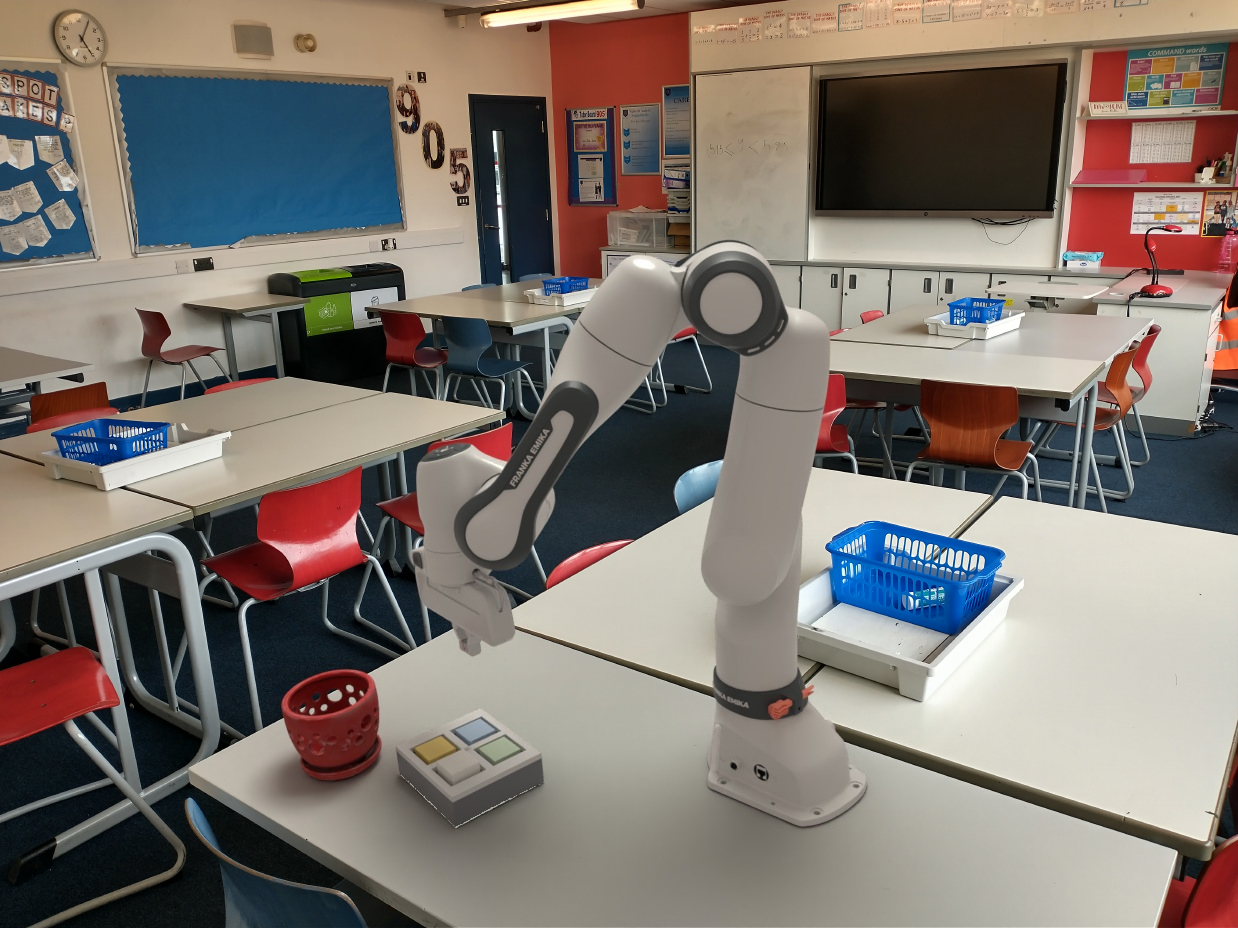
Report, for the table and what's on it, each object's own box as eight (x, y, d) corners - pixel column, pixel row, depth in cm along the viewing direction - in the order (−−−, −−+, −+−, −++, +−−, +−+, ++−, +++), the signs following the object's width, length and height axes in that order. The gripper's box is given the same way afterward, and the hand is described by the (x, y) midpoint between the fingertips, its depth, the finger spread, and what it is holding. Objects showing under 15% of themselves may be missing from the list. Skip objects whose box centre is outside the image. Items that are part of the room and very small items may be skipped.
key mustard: (457, 764, 133) (455, 748, 132) (431, 776, 130) (429, 760, 130) (443, 751, 136) (441, 735, 135) (416, 763, 134) (414, 747, 133)
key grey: (481, 778, 128) (479, 761, 127) (454, 791, 125) (451, 774, 124) (465, 764, 131) (463, 748, 130) (438, 777, 128) (436, 761, 128)
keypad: (544, 782, 132) (541, 752, 130) (456, 828, 123) (452, 797, 122) (483, 735, 144) (480, 708, 142) (399, 774, 135) (395, 745, 134)
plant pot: (315, 737, 146) (304, 667, 143) (398, 737, 145) (388, 667, 141) (278, 789, 134) (264, 715, 130) (367, 791, 132) (356, 715, 129)
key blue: (497, 745, 137) (495, 729, 136) (472, 757, 134) (470, 741, 134) (481, 733, 140) (480, 718, 139) (457, 745, 137) (455, 729, 137)
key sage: (522, 764, 132) (520, 748, 131) (496, 777, 129) (494, 761, 129) (505, 752, 135) (504, 736, 134) (480, 764, 133) (478, 748, 132)
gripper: (520, 574, 123) (531, 668, 127) (442, 536, 139) (454, 622, 143) (479, 589, 119) (491, 686, 123) (403, 549, 135) (416, 636, 139)
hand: (470, 651), depth 133 cm, fingers closed
